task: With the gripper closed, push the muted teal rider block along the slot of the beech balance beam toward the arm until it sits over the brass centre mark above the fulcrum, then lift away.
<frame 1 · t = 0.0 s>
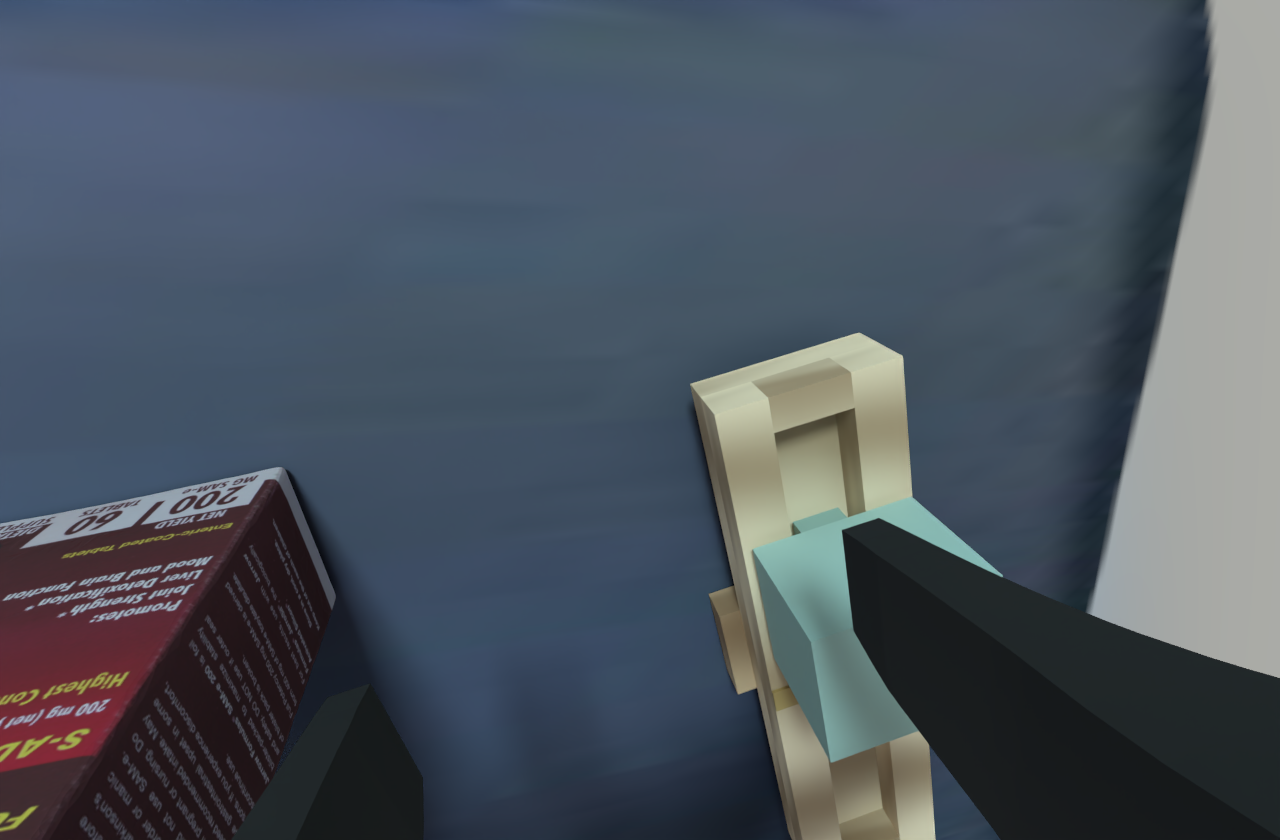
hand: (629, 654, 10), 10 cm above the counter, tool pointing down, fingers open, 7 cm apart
supplement box: (156, 559, 19), on the counter
beam: (802, 604, 24), on the counter
rider: (861, 607, 18), point 5 cm above the counter, slide at 4.0 cm
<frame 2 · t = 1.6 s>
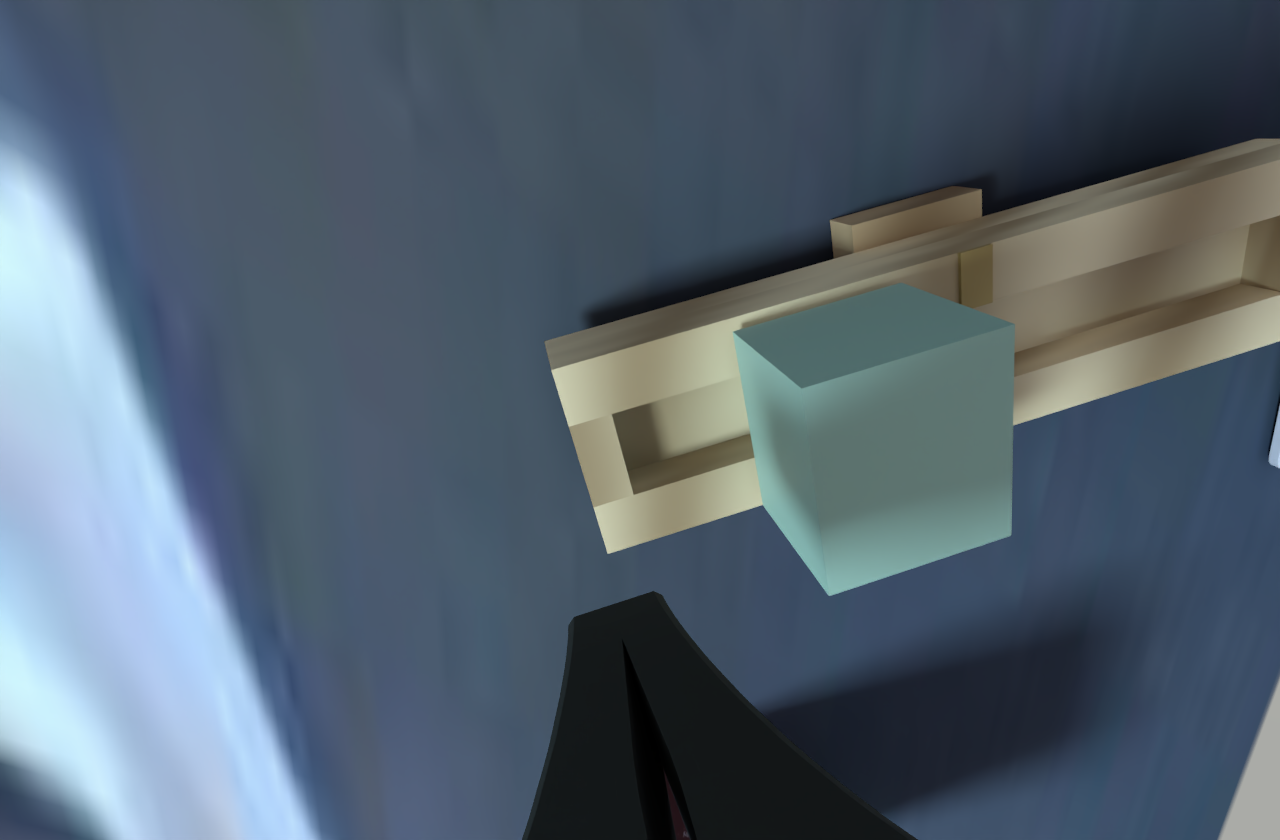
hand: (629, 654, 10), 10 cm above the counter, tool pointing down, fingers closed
supplement box: (712, 803, 27), on the counter
beam: (898, 314, 19), on the counter
rider: (853, 419, 15), point 5 cm above the counter, slide at 4.0 cm
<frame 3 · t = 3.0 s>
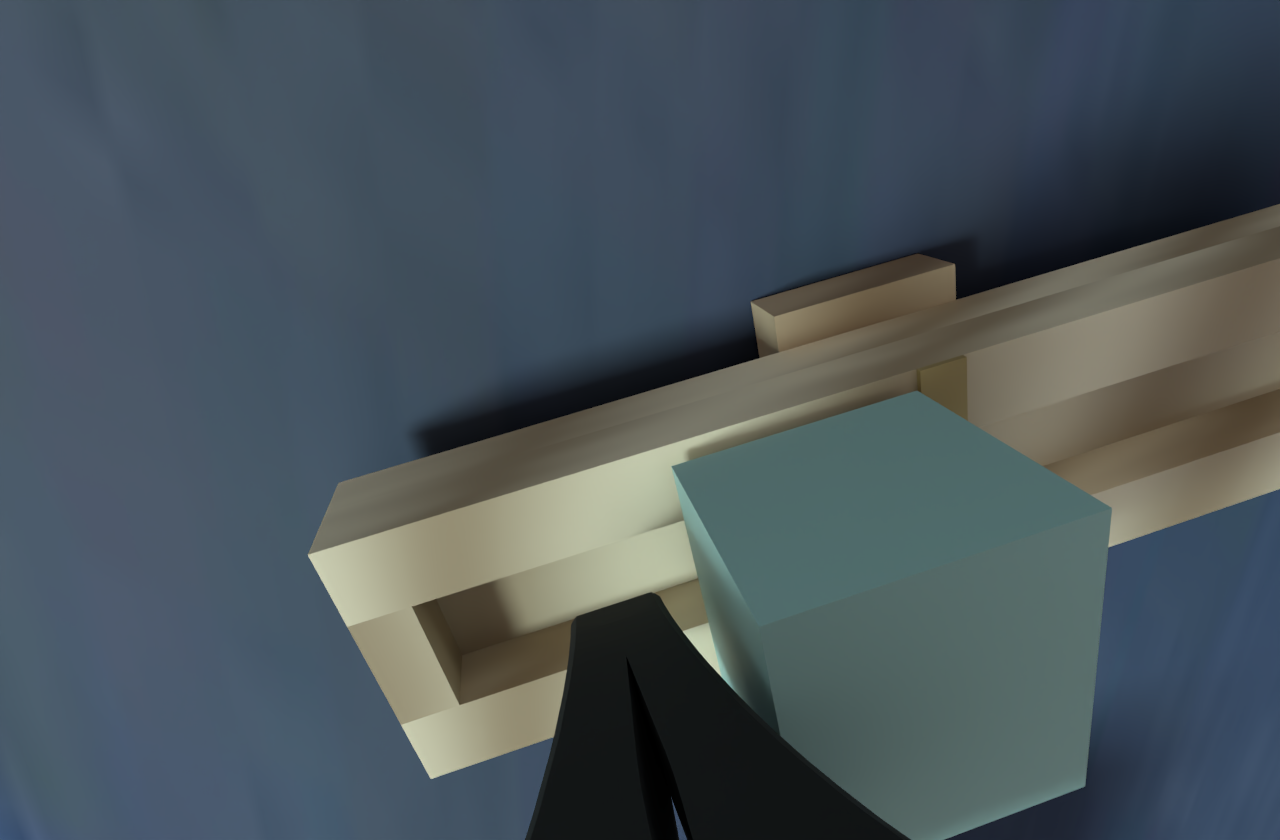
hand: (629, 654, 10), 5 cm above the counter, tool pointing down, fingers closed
beam: (849, 418, 15), on the counter
rider: (848, 592, 10), point 5 cm above the counter, slide at 2.6 cm, touching gripper
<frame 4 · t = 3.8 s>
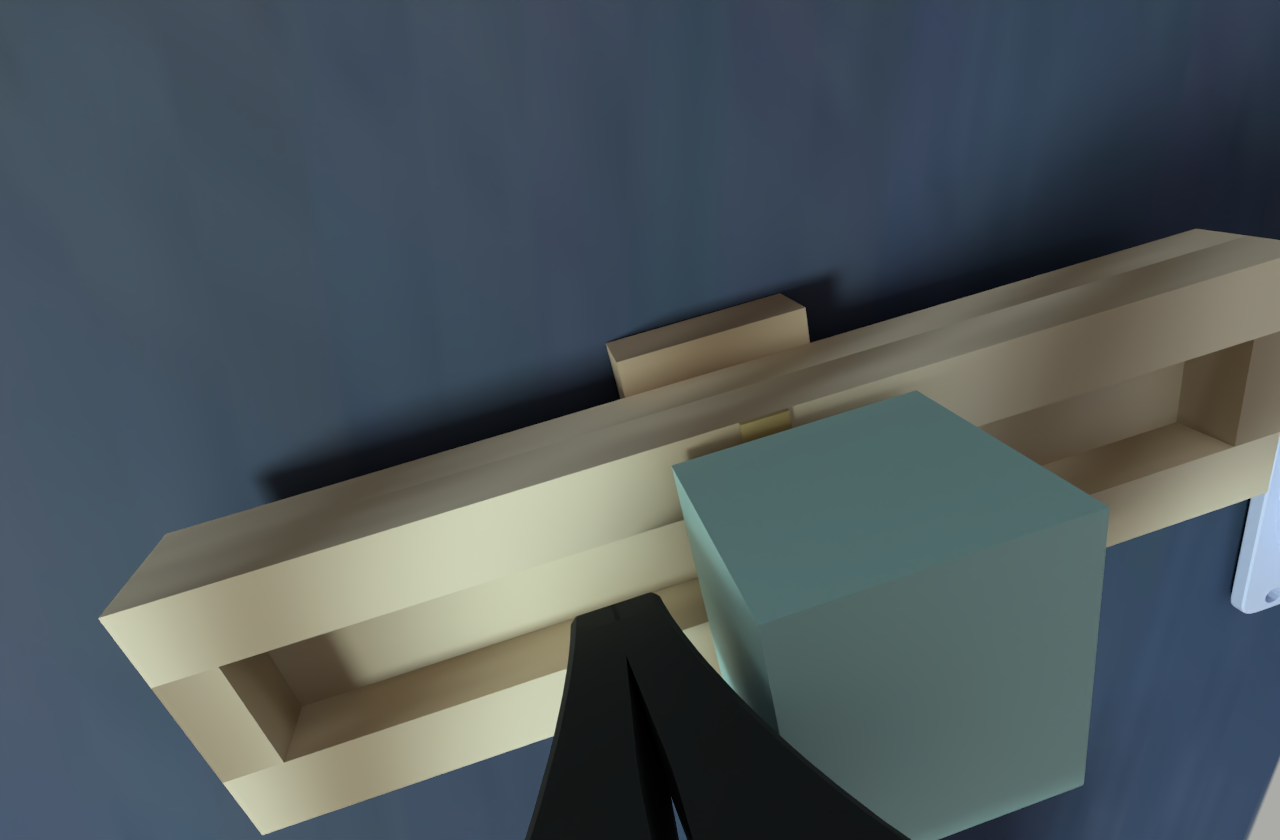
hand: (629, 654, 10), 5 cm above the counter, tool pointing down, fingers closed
beam: (721, 457, 14), on the counter
rider: (847, 591, 10), point 5 cm above the counter, slide at -0.4 cm, touching gripper
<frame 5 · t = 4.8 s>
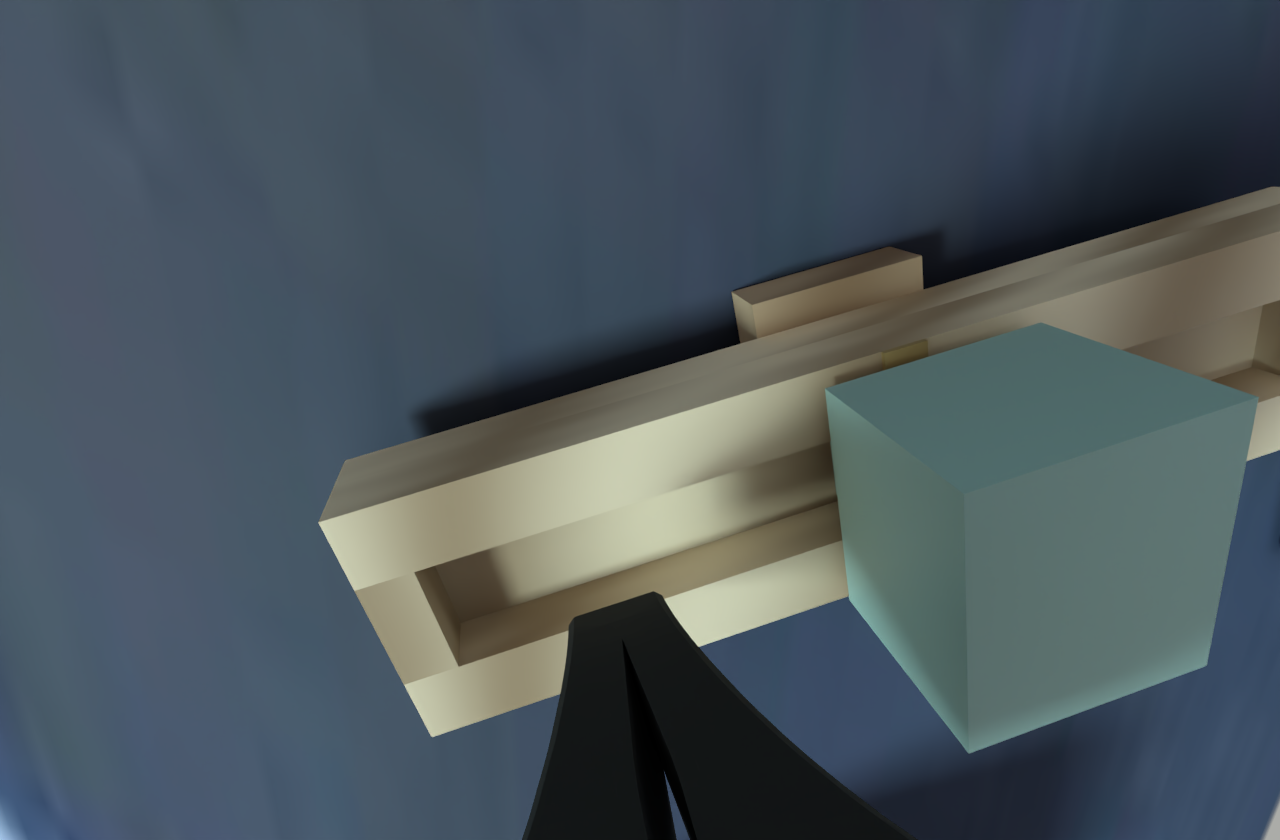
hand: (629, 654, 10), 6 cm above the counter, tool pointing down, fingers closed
beam: (826, 402, 16), on the counter
rider: (982, 502, 11), point 5 cm above the counter, slide at -0.4 cm
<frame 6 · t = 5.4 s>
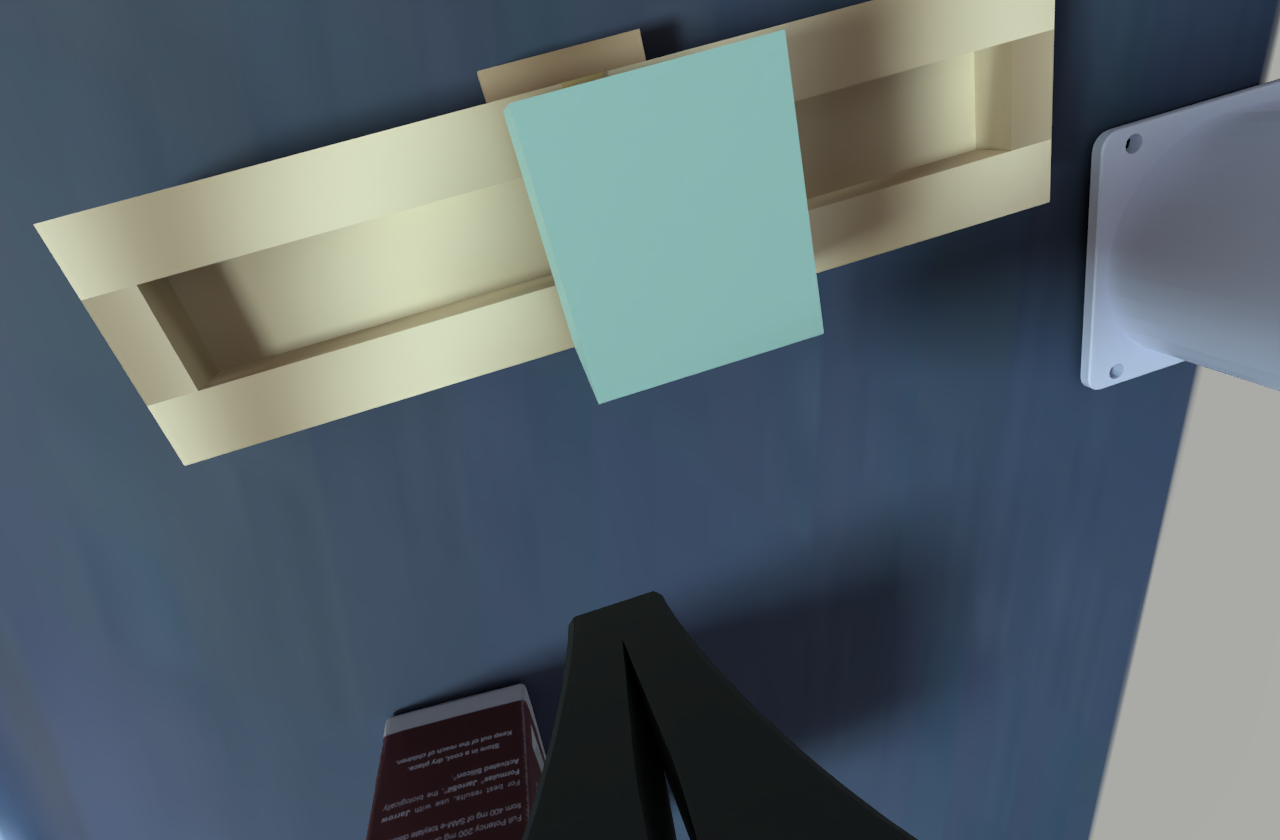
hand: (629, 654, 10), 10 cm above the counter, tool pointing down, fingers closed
supplement box: (484, 778, 24), on the counter
beam: (591, 197, 17), on the counter
rider: (649, 214, 12), point 5 cm above the counter, slide at -0.4 cm
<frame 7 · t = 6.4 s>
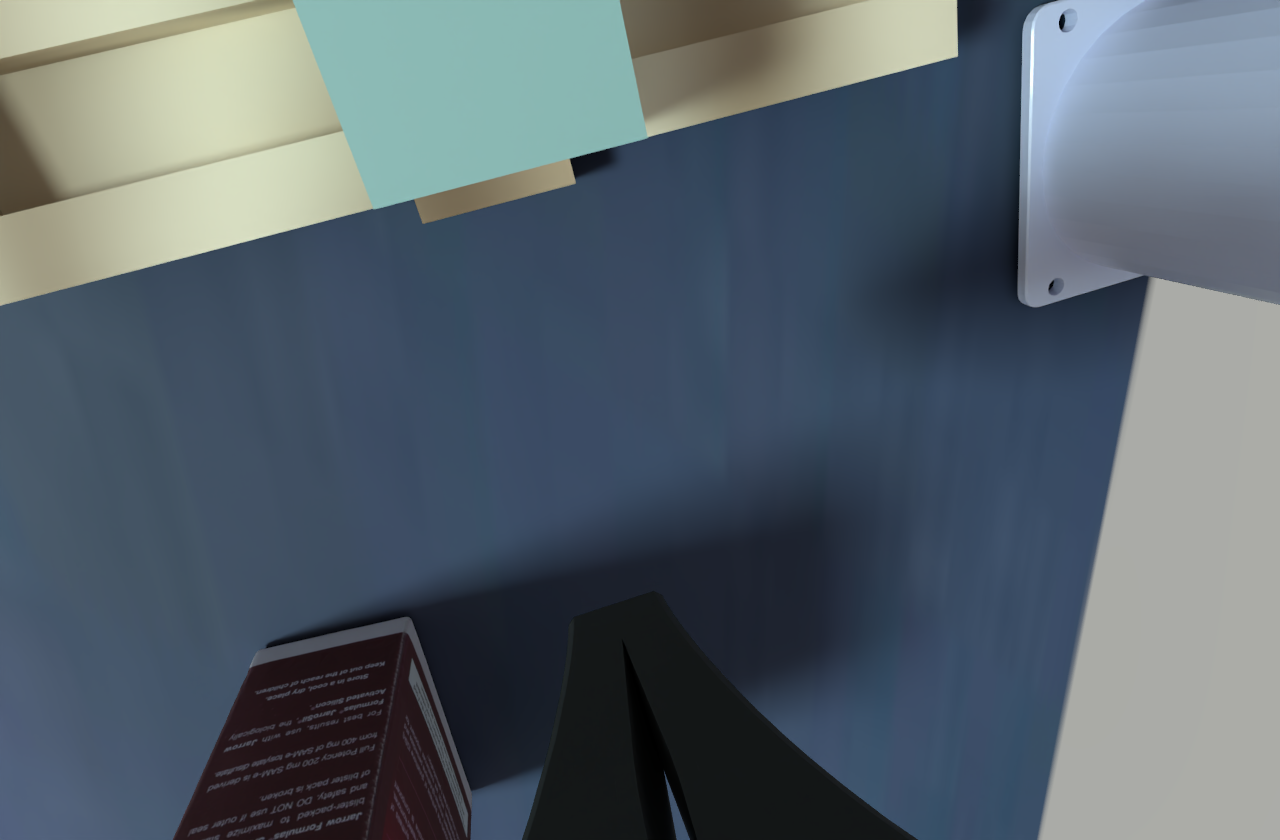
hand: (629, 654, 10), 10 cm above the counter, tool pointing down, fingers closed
supplement box: (374, 723, 22), on the counter
beam: (455, 53, 15), on the counter
rider: (464, 15, 11), point 5 cm above the counter, slide at -0.4 cm
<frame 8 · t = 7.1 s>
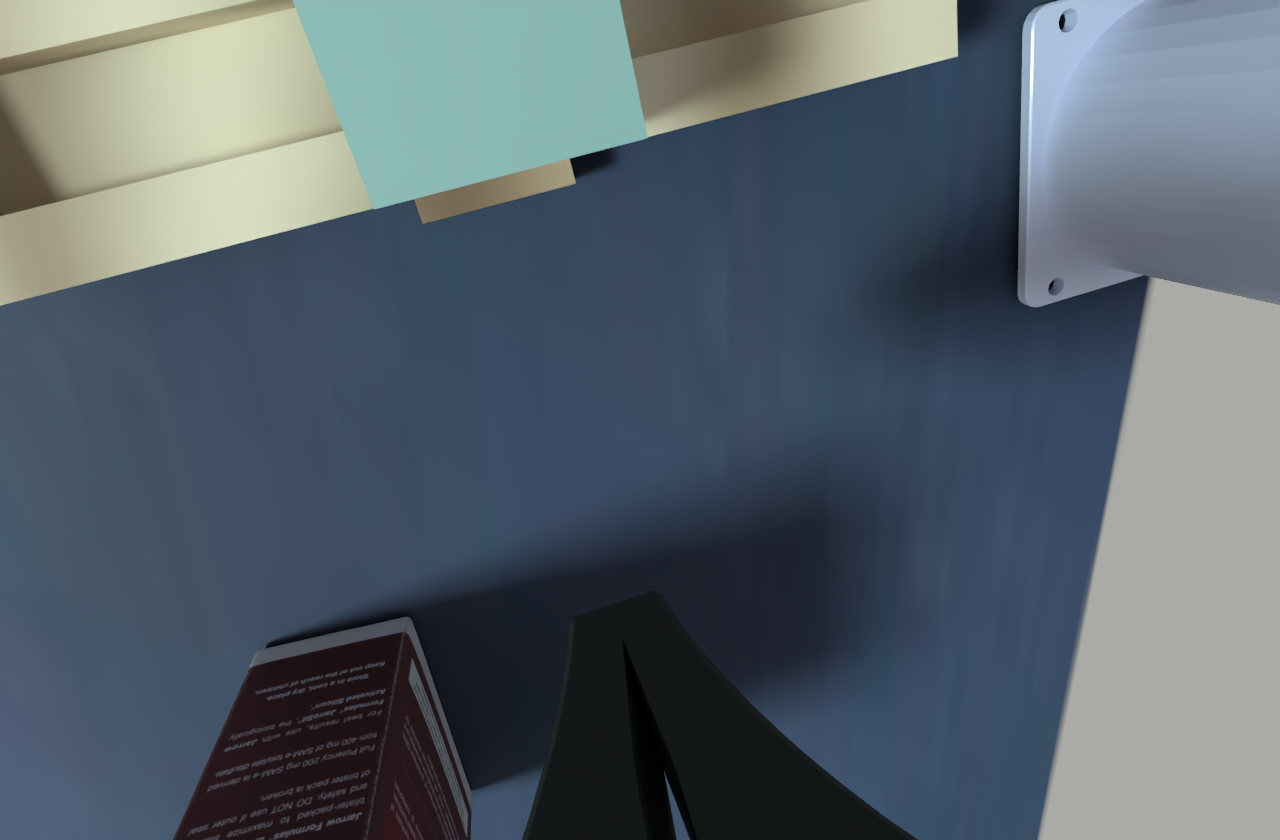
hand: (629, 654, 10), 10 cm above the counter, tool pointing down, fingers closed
supplement box: (374, 723, 22), on the counter
beam: (455, 53, 15), on the counter
rider: (464, 15, 11), point 5 cm above the counter, slide at -0.4 cm
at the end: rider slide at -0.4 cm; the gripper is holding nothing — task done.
